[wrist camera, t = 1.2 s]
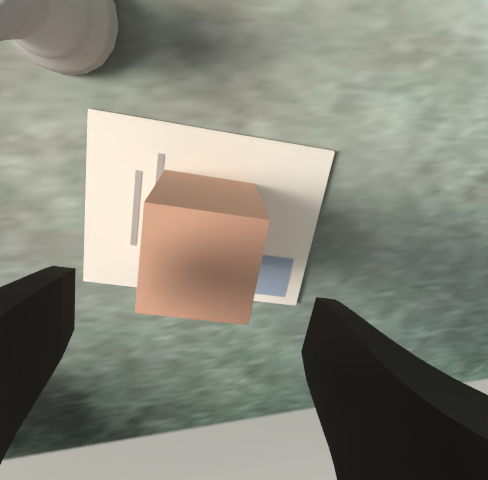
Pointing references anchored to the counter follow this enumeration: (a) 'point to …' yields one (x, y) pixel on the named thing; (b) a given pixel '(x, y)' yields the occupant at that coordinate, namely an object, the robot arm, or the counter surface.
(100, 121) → the letter
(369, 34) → the counter surface
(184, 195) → the block
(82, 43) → the rook chess piece
